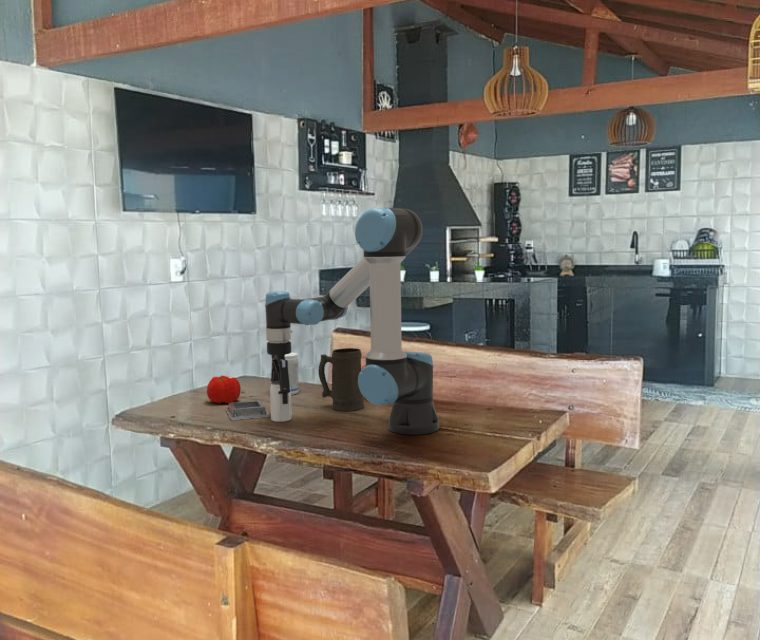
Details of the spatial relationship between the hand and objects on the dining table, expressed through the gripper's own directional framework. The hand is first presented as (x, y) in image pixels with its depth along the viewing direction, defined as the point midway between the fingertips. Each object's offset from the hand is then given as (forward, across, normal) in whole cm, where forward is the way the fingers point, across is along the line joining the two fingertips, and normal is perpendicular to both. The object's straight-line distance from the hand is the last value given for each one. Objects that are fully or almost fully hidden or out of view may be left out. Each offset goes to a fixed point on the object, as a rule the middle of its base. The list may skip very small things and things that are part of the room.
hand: (281, 409), depth 228 cm
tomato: (+4, +32, +14) cm, 35 cm away
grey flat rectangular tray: (+3, +12, +9) cm, 15 cm away
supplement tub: (+4, +38, -9) cm, 39 cm away
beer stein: (+4, +9, -22) cm, 24 cm away
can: (+4, 0, 0) cm, 4 cm away
